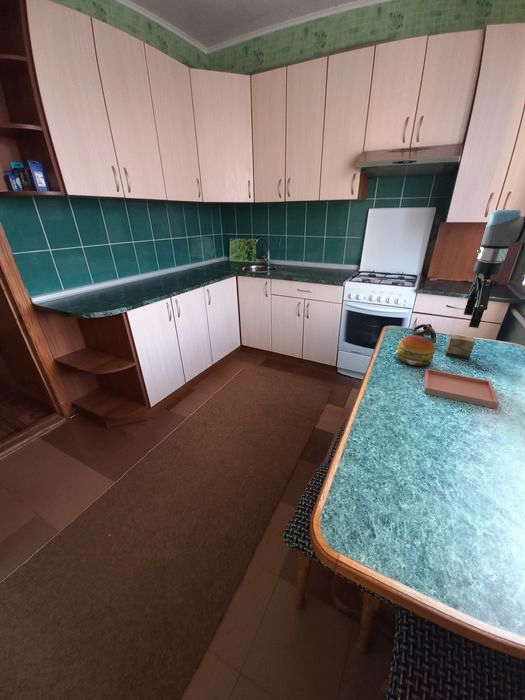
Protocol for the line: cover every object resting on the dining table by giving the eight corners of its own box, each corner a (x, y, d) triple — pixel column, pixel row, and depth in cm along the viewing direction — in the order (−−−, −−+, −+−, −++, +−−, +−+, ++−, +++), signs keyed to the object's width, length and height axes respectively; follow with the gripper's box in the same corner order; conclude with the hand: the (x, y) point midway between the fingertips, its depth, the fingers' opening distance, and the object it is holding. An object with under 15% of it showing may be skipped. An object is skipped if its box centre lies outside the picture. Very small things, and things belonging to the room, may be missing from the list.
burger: (430, 372, 107) (437, 348, 103) (391, 363, 114) (396, 340, 109) (433, 357, 118) (439, 334, 113) (397, 349, 124) (402, 328, 119)
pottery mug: (436, 347, 127) (429, 331, 124) (413, 350, 134) (407, 335, 131) (441, 331, 134) (435, 317, 131) (419, 335, 141) (413, 321, 138)
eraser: (467, 355, 119) (473, 337, 115) (468, 359, 115) (475, 341, 112) (445, 351, 122) (450, 333, 118) (445, 355, 119) (451, 338, 115)
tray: (488, 386, 99) (490, 380, 98) (496, 409, 88) (499, 403, 87) (424, 373, 107) (425, 368, 106) (424, 393, 96) (425, 387, 95)
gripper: (470, 254, 108) (454, 309, 118) (483, 267, 88) (462, 331, 97) (495, 255, 105) (476, 311, 115) (513, 268, 85) (489, 334, 95)
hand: (470, 320), depth 106 cm, fingers open, 13 cm apart
